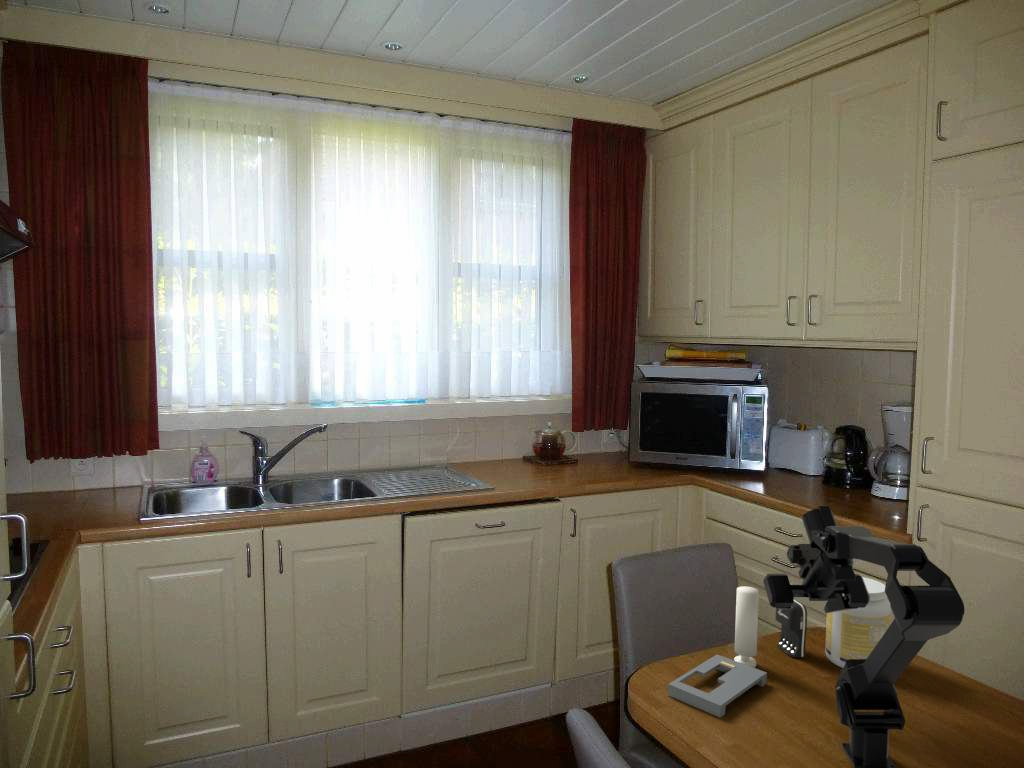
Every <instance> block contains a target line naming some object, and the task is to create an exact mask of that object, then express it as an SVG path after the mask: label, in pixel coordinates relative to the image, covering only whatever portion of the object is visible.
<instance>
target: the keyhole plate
mask: <svg viewBox="0 0 1024 768" xmlns="http://www.w3.org/2000/svg"><path fill="white" fill-rule="evenodd" d="M716 669H717V671H719V670H720V671H719V672H722V673H724V672H725V673H724V674H722V675H721V676H719V677H718V678H717V683H718V684H720V685H718V686H717V687H715V688H714V689H713V690H712V691H710V692H705V691H703V690H701V689H698V688H696V687H693V686H692V685H688V684H686V683H684V682H685V681H687V680H689V679H690V678H692V677H693V676H695V675H699V676H701V677H703V678H705V677H706V676H708V675H709V674H710V673H712V672H714V671H715V670H716ZM767 676H768V672H766V671H763V670H760V669H759V668H756V667H755V668H753V667H750V666H747V665H745V664H742V663H739V662H736V661H734V659H731V658H728V657H725V656H723V655H719V654H715V655H713V656H712V657H710V658H709V659H707V660H705V661H704V662H702V663H701V664H699V665H698V666H696V667H694V668H693V669H691V670H689V671H687V672H686V673H684V674H682V675H681V676H680V677H677V678H676V679H674V680H673V681H671V682H670V683H668V694H667V696H668V697H670V698H674V699H675V700H677V701H679V702H683V703H685V704H687V705H689V706H692V707H694V708H696V709H699V710H701V711H703V712H706V713H708V714H710V715H713V716H715V717H716V718H720V719H721V718H722V717H723V716H725V715H726V706H727V705H729V704H730V703H731V702H733V701H734V700H735V699H737V698H738V697H740V696H741V695H742V694H744V693H745V692H747V691H748V690H749V689H750V688H752V687H754V686H756V684H757V686H759V685H760V686H759V687H761V686H763V687H764V686H765V685H767V678H768V677H767Z"/></svg>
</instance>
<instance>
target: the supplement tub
mask: <svg viewBox="0 0 1024 768" xmlns="http://www.w3.org/2000/svg"><path fill="white" fill-rule="evenodd" d="M861 577H862V578H863V580H864V583H865V585H866V588H867V591H868V593H869V596H870V601H869V603H868V604H867V605H866V607H865V608H857V609H849V610H843V611H837V612H831V613H826V624H825V625H826V627H825V631H826V632H825V648H824V650H825V656H826V658H827V659H828V660H829V661H830V662H831V663H833V665H836V666H837V667H839V668H841V669H843V668H844V665H845V663H846V661H848V660H849V659H867V658H868V656H869V655H870V653H871V652H872V651H873V649H874V648H875V646H876V645H877V643H878V642H879V641H880V639H881V638H882V636H883V635H884V633H885V632H886V631H887V629H888V628H889V626H890V625H891V617H892V614H891V613H892V609H891V607H890V602H889V599H888V597H887V595H886V593H885V586H886V584H884V583H882V582H880V581H879V580H875V579H872V578H868V577H863V576H861Z"/></svg>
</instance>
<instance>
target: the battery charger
mask: <svg viewBox="0 0 1024 768" xmlns="http://www.w3.org/2000/svg"><path fill="white" fill-rule="evenodd" d="M775 621H777V623H780V625H781V629H780V630H781V631H780V636H779V639H778V641H777V644H776V645H777V647H778V648H779V649H780V650H781V651H782V652H783V653H785V654H787V655H788V656H789V657H791V658H803V657H806V640H807V626H808V610H807V607H806V606H805V605H804V604H803V603H802V602H800V601H798V600H797V599H796V598H794V603H793V605H792V606H791V609H789V610H787V611H786V612H784V613H780V612H779V609H778V608H775Z"/></svg>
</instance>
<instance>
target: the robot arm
mask: <svg viewBox="0 0 1024 768" xmlns="http://www.w3.org/2000/svg"><path fill="white" fill-rule="evenodd" d="M801 520H802V524H803V526H804V529H805V532H806V536H807V538H808V543H798V544H793V545H792V544H791V545H790V546H789V547H788V548H787V551H786V557H787V559H788V561H789V562H790V563H789V564H792V565H797V566H798V567H799V571H798V576H799V578H800V579H802V581H801V584H791V583H790V579H789V575H788V574H786V573H767V574H766V575H765V577H764V579H763V581H762V582H763V586H764V588H765V593H766V596H767V600H768V603H769V605H770V607H772V609H773V608H775V609H776V608H778V609H779V612H780V613H784V612H786V611H787V610H789V609H791V606H792V605H793V603H794V599H809V602H826V603H825V605H824V608H823V610H824V612H825V614H827V613H831V612H837V611H843V610H849V609H857V608H865V607H866V605H867V604H868V603H869V601H870V596H869V593H868V591H867V588H866V585H865V583H864V580H863V578H862V577H863V576H861V574H859V573H855V570H854V567H853V566H854V560H860V561H864V562H867V563H871V564H874V565H877V566H881V567H883V568H884V569H885V571H886V573H887V577H886V581H885V593H886V595H887V600H888V601H889V603H890V607H891V613H892V614H893V617H894V618H893V621H892V622H890V626H889V628H888V629H887V631H886V632H885V633H884V635H883V636H882V638H881V639H880V641H879V642H878V643H877V645H876V646H875V648H874V649H873V651H872V652H871V653H870V655H869V656H868V658H867V659H849V660H848V661H846V663H845V665H844V668H841V669H839V672H840V674H839V676H838V679H837V680H836V683H835V685H834V686H835V697H836V705H837V707H836V708H837V712H838V717H839V722H840V724H841V725H844V726H846V727H848V728H849V743H848V742H842V743H841V748H842V750H843V752H844V753H845V755H846V756H847V758H848V759H849V761H850V763H851V764H852V766H853V767H854V768H897V765H895V763H894V762H893V760H892V759H891V758H890V756H889V743H890V742H889V741H890V739H889V738H890V730H898V731H903V730H904V727H905V724H906V719H905V716H904V713H903V709H902V707H901V703H900V701H899V698H898V695H899V693H898V691H897V689H896V686H895V683H896V681H897V680H898V679H899V678H900V677H901V675H902V674H903V672H904V671H905V670H906V669H907V667H909V665H910V664H911V663H912V662H913V660H914V658H915V657H917V655H918V654H919V652H920V651H921V650H922V649H923V647H924V646H925V644H926V643H927V642H928V641H929V640H931V639H935V638H938V637H940V636H941V637H942V636H944V635H948V634H949V633H951V632H952V631H953V630H955V629H956V628H958V627H959V626H961V623H962V621H963V620H964V615H965V604H964V601H963V599H962V597H961V595H960V594H959V591H958V590H957V588H956V586H955V584H954V582H953V581H952V579H951V577H950V576H949V575H948V574H947V573H946V572H944V571H943V570H942V569H941V568H940V567H938V566H937V565H935V564H934V563H933V562H932V560H931V561H930V559H929V558H928V556H927V554H926V552H925V550H924V549H923V547H922V546H920V545H916V543H904V542H899V541H895V540H890V539H886V538H882V537H877V536H874V535H873V531H871V530H869V529H868V528H867V527H865V526H863V525H838V523H837V521H836V517H835V515H834V512H833V511H832V510H831V507H830V505H818V506H817V508H814V509H812V510H811V509H810V510H809V511H807V512H806V513H804V514H802V516H801ZM898 572H915V573H916V574H915V575H917V576H918V577H919V578H920V579H921V580H923V581H924V582H925V584H927V585H901V583H900V581H899V580H898V578H897V575H898Z"/></svg>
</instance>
